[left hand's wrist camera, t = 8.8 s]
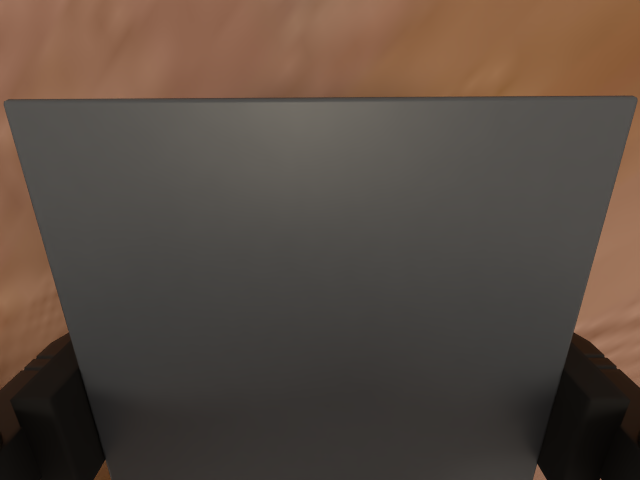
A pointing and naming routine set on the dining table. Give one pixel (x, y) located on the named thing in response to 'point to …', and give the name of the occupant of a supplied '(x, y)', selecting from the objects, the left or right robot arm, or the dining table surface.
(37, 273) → the dining table surface
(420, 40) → the dining table surface
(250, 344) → the slab
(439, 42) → the dining table surface
